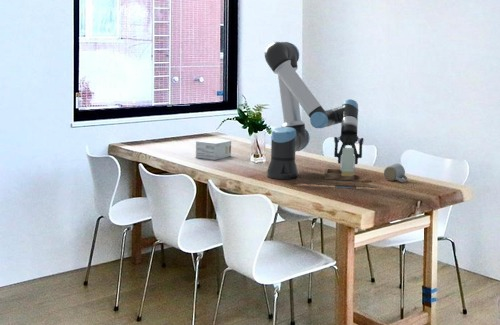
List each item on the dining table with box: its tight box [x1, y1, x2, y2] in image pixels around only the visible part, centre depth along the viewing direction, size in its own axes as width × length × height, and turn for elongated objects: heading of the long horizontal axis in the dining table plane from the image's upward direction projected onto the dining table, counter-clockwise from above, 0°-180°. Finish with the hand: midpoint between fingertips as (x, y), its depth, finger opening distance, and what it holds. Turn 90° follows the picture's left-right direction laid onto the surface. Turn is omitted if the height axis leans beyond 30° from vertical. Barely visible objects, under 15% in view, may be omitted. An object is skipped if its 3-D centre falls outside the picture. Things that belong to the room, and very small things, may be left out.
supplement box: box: [195, 138, 232, 161], centre depth 382 cm, size 17×13×9 cm
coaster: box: [334, 184, 356, 190], centre depth 309 cm, size 9×9×1 cm
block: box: [341, 147, 354, 176], centre depth 307 cm, size 5×5×12 cm
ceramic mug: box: [383, 163, 408, 183], centre depth 325 cm, size 11×8×8 cm
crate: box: [323, 168, 356, 181], centre depth 326 cm, size 14×14×4 cm
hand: (347, 169), depth 304 cm, fingers closed on block, 5 cm apart
